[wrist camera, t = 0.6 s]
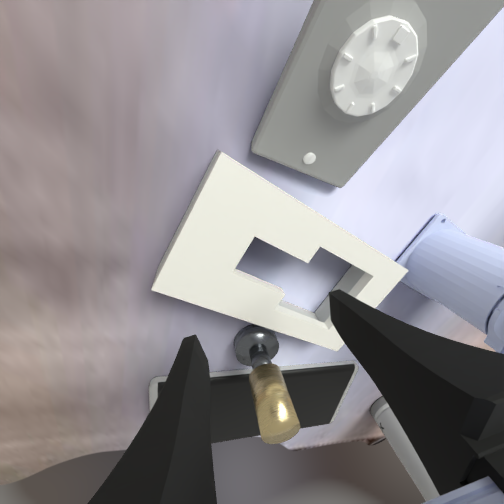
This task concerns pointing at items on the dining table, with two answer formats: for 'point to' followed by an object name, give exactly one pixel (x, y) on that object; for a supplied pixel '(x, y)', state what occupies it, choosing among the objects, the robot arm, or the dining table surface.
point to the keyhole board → (275, 233)
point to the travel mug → (403, 448)
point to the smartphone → (298, 385)
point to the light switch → (361, 78)
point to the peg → (267, 384)
